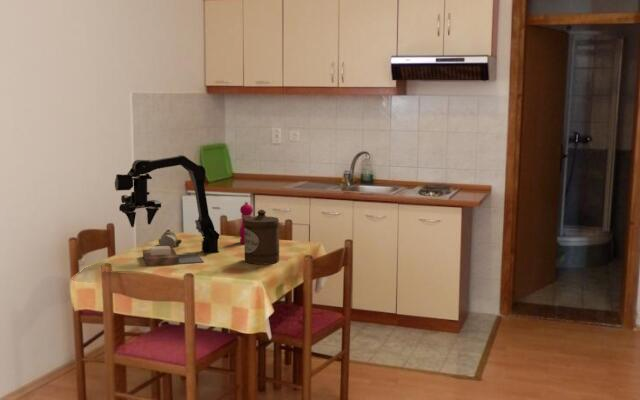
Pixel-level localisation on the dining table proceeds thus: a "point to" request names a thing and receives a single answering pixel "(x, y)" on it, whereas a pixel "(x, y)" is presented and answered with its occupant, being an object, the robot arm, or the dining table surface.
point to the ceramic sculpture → (169, 239)
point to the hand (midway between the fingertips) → (140, 225)
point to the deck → (160, 258)
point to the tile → (160, 250)
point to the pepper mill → (246, 213)
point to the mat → (190, 258)
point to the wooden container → (261, 239)
